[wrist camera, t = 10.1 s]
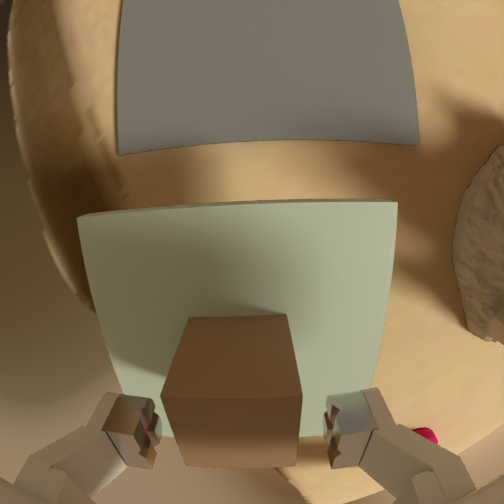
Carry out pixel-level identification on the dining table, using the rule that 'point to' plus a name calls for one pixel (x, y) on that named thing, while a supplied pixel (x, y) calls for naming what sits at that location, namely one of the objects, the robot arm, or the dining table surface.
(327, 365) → the lid
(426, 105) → the dining table surface
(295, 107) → the mat
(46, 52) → the dining table surface
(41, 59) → the dining table surface
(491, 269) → the ceramic cottage
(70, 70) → the dining table surface
